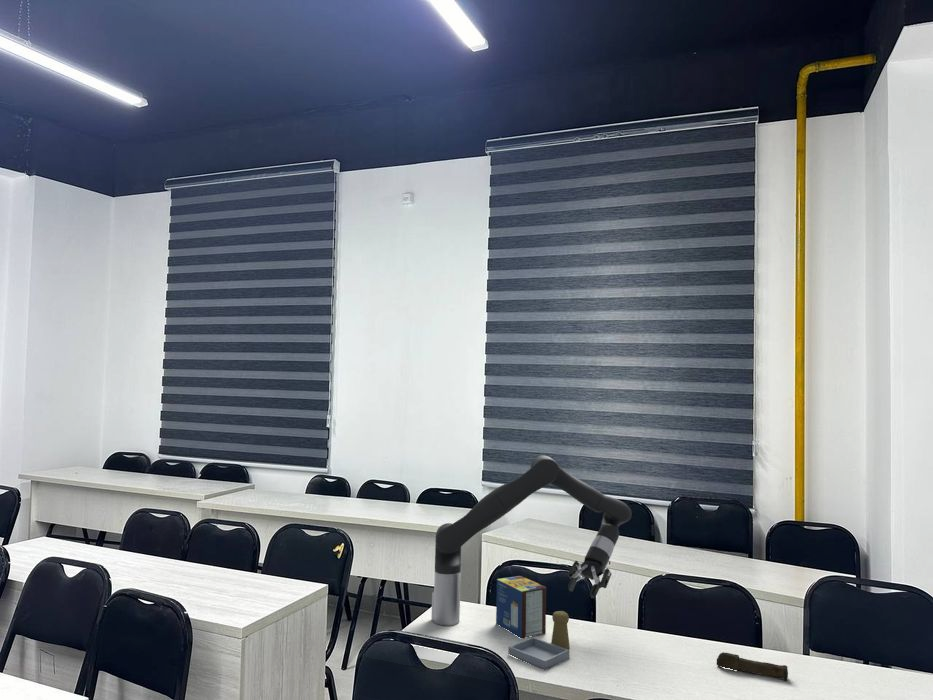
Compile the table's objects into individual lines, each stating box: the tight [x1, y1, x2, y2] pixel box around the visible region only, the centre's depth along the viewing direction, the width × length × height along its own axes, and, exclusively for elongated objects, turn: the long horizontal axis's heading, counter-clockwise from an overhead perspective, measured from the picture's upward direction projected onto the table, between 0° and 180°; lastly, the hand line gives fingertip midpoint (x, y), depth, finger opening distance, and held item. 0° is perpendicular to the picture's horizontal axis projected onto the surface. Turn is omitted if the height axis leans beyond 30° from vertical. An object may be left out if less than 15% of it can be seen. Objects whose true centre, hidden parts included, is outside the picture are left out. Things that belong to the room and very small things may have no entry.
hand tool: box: [716, 651, 789, 682], centre depth 182 cm, size 19×4×5 cm, turn 63°
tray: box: [508, 636, 570, 671], centre depth 189 cm, size 14×12×3 cm
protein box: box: [495, 575, 547, 639], centre depth 213 cm, size 10×15×16 cm
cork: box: [550, 610, 571, 651], centre depth 197 cm, size 6×6×11 cm
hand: (580, 593), depth 206 cm, fingers open, 8 cm apart
